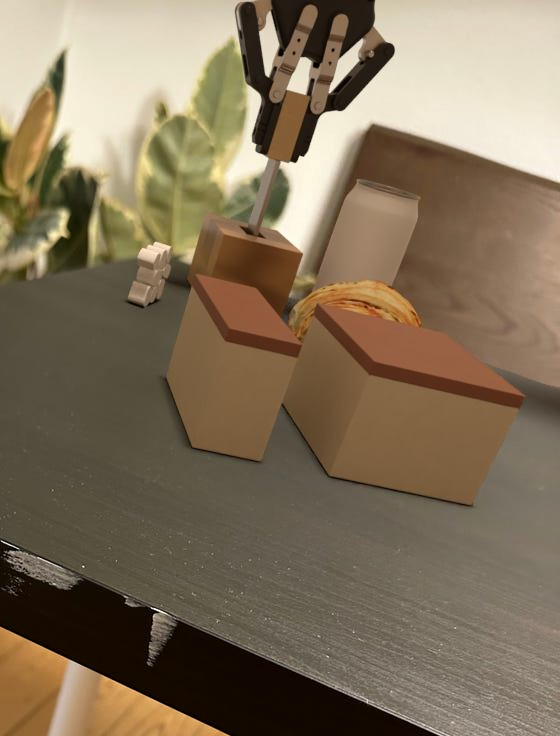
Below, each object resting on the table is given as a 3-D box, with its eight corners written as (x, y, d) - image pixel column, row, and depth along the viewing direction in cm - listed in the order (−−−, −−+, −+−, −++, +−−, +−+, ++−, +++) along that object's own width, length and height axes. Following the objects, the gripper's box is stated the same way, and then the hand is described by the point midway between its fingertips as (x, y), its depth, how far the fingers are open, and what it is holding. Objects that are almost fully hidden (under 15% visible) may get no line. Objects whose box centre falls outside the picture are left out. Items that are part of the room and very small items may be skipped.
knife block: (256, 296, 92) (277, 230, 89) (279, 324, 84) (303, 253, 80) (186, 279, 91) (205, 212, 88) (202, 306, 83) (224, 233, 79)
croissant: (354, 462, 67) (450, 382, 63) (255, 359, 66) (346, 270, 62) (366, 384, 85) (442, 318, 81) (288, 301, 84) (360, 229, 79)
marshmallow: (142, 307, 77) (157, 250, 75) (126, 302, 77) (140, 245, 75) (162, 300, 81) (177, 245, 79) (147, 294, 81) (161, 240, 79)
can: (358, 344, 84) (414, 199, 78) (292, 319, 87) (341, 176, 80) (379, 336, 89) (434, 199, 83) (316, 313, 92) (365, 178, 85)
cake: (403, 429, 65) (445, 333, 62) (471, 506, 55) (526, 396, 52) (281, 402, 64) (316, 302, 60) (328, 476, 54) (374, 361, 50)
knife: (248, 266, 87) (302, 94, 80) (255, 274, 85) (311, 96, 77) (227, 261, 87) (280, 87, 79) (233, 269, 84) (288, 90, 77)
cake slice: (224, 390, 63) (256, 288, 59) (261, 462, 53) (303, 344, 49) (165, 377, 62) (195, 273, 59) (191, 447, 52) (229, 327, 49)
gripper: (277, -128, 68) (204, 141, 77) (456, -71, 70) (364, 184, 79) (256, -116, 74) (191, 131, 83) (421, -65, 76) (339, 171, 85)
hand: (276, 156), depth 81 cm, fingers closed on knife, 2 cm apart
